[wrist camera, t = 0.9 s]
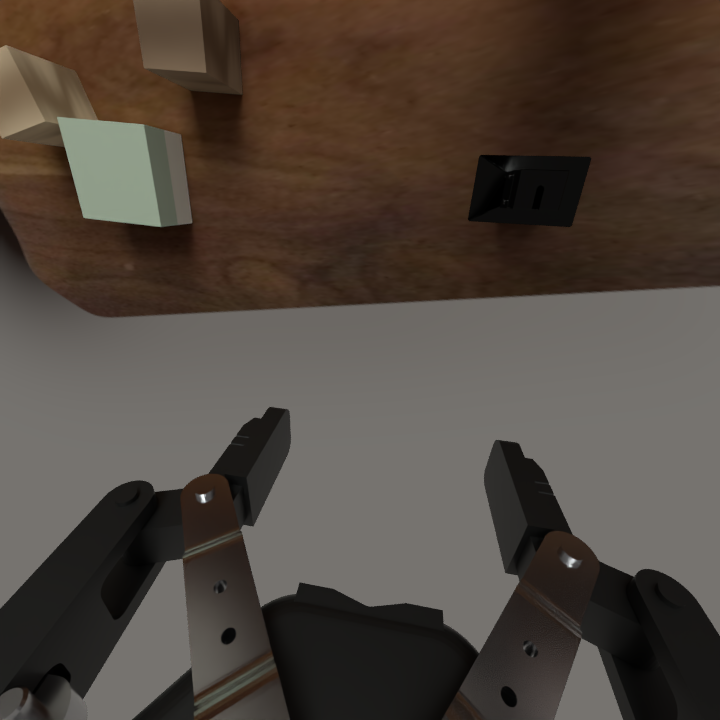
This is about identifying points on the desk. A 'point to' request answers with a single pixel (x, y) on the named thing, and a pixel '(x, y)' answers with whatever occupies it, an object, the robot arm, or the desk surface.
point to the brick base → (127, 172)
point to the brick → (38, 98)
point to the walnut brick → (191, 43)
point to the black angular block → (528, 189)
